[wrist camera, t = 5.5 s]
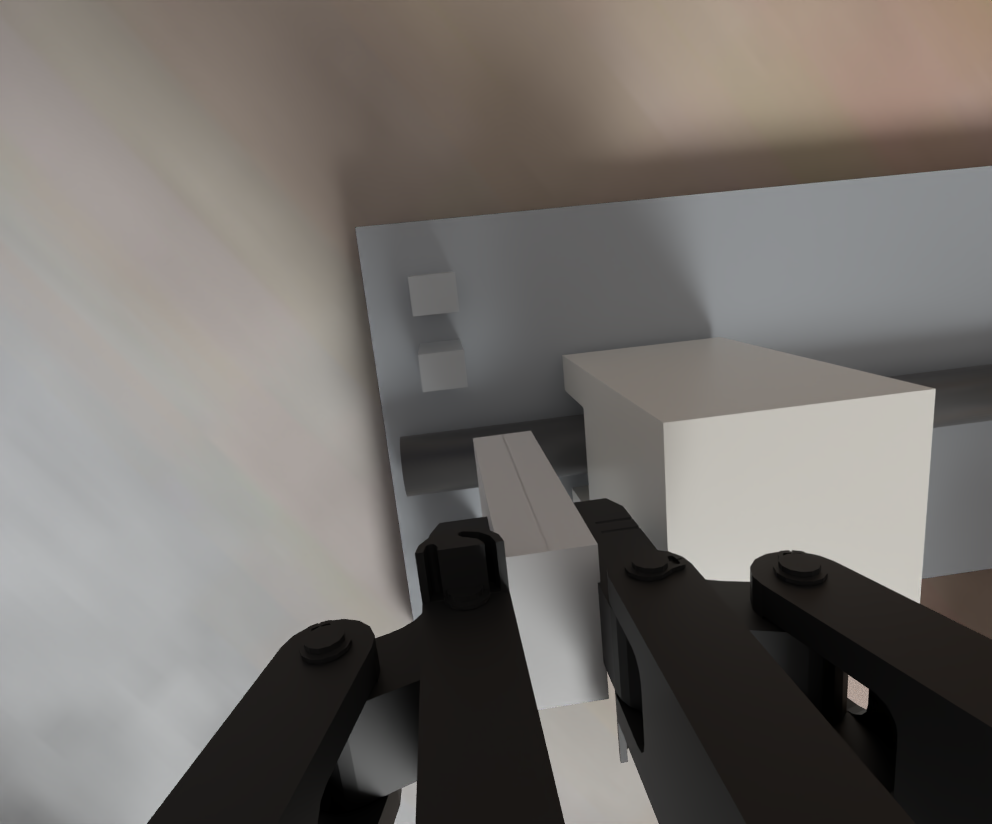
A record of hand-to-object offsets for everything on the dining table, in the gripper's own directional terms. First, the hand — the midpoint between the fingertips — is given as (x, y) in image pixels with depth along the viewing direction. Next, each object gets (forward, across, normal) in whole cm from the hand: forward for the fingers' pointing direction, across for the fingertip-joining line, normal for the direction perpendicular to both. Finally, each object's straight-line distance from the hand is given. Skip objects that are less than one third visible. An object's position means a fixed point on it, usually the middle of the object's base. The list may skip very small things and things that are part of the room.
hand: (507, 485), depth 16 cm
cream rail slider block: (+4, +5, 0) cm, 6 cm away
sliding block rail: (+5, +10, 0) cm, 12 cm away
